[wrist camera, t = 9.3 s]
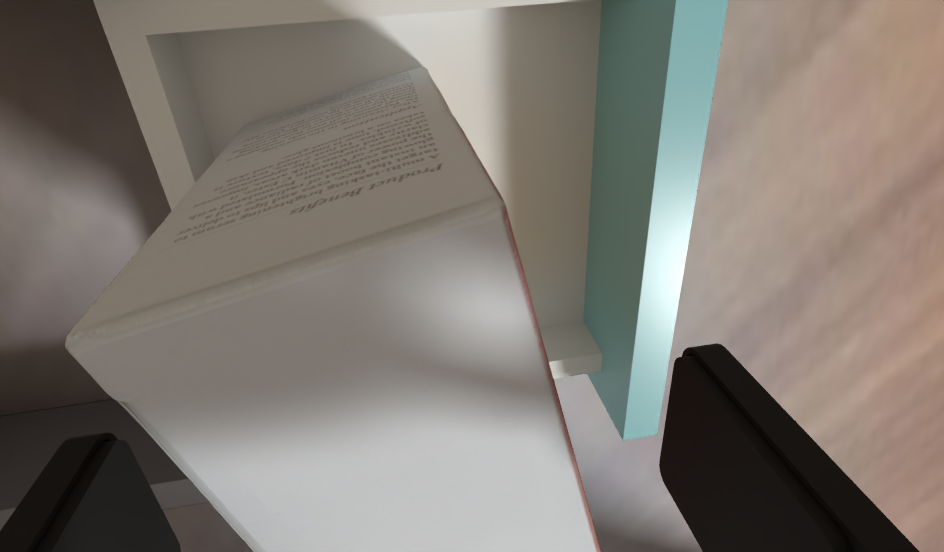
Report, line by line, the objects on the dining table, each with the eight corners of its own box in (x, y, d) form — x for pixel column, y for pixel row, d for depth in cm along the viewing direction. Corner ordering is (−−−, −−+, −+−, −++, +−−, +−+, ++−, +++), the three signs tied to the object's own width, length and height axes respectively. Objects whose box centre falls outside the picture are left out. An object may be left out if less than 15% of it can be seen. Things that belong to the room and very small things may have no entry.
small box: (497, 286, 19) (610, 569, 10) (348, 335, 19) (330, 662, 10) (428, 57, 15) (517, 194, 6) (237, 119, 15) (41, 350, 6)
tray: (637, -94, 15) (747, -117, 10) (601, 345, 22) (656, 434, 18) (121, -64, 13) (3, -78, 9) (273, 396, 21) (249, 506, 17)
